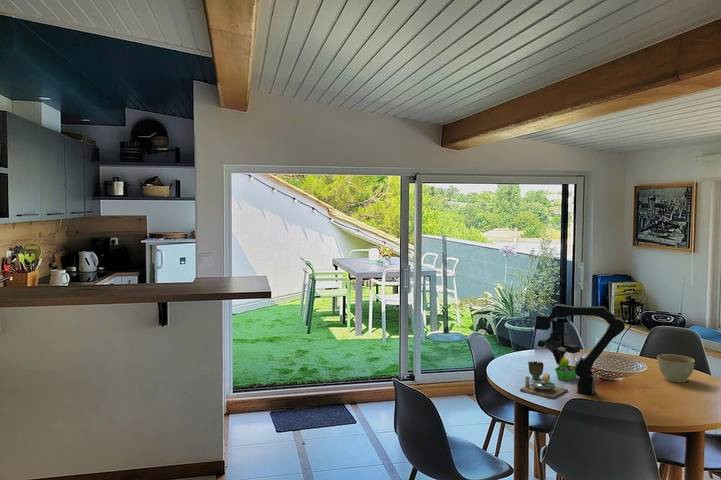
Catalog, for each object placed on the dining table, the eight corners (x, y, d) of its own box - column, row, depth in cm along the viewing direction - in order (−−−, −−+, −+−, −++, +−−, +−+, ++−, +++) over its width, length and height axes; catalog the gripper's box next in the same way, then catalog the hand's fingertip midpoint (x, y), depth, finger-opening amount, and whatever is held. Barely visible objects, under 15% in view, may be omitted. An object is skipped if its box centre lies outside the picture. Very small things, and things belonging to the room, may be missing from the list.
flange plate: (552, 391, 240) (552, 383, 240) (529, 387, 246) (529, 380, 245) (558, 382, 253) (558, 375, 253) (536, 379, 258) (536, 372, 258)
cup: (544, 381, 263) (544, 365, 262) (529, 380, 264) (529, 364, 264) (542, 376, 270) (542, 361, 270) (527, 375, 272) (527, 360, 271)
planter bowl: (657, 373, 275) (657, 352, 274) (694, 378, 266) (694, 356, 266) (655, 381, 261) (656, 359, 260) (694, 387, 253) (695, 364, 252)
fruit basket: (568, 382, 261) (568, 359, 261) (551, 377, 268) (552, 355, 268) (580, 377, 269) (580, 355, 268) (563, 373, 275) (564, 352, 275)
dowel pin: (530, 386, 251) (530, 376, 251) (528, 387, 250) (528, 377, 250) (526, 385, 252) (526, 375, 252) (524, 386, 251) (524, 376, 251)
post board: (567, 391, 247) (567, 381, 247) (552, 399, 237) (552, 389, 237) (535, 383, 259) (535, 374, 259) (520, 390, 248) (520, 381, 248)
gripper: (531, 330, 251) (530, 363, 252) (568, 337, 237) (567, 371, 237) (544, 327, 258) (543, 359, 259) (580, 333, 244) (580, 367, 244)
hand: (558, 364), depth 250 cm, fingers closed
